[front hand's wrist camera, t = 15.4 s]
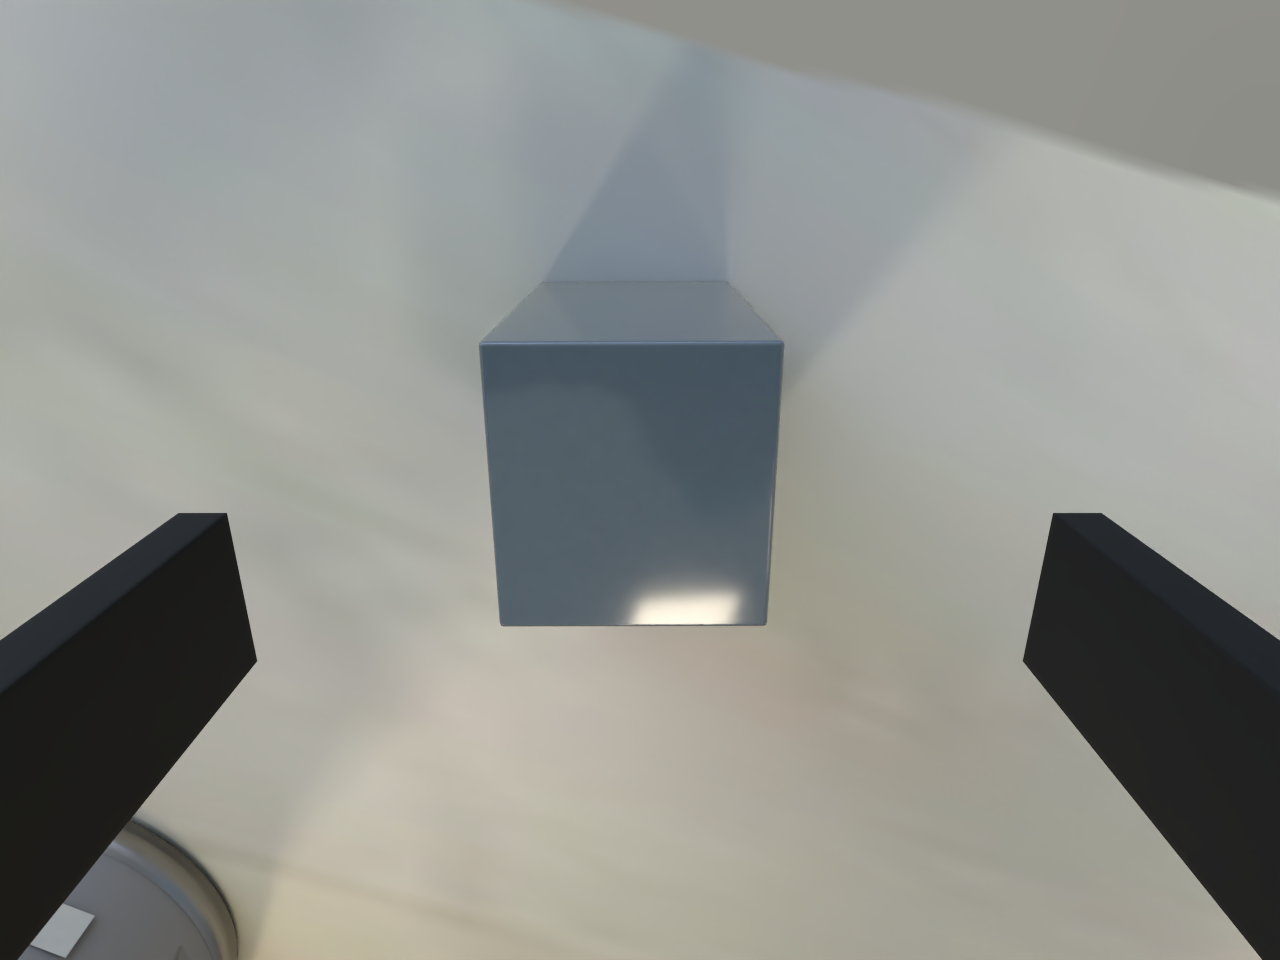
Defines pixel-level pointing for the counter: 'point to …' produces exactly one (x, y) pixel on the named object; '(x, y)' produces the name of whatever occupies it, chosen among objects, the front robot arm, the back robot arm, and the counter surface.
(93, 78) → the counter surface
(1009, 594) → the counter surface
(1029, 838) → the counter surface
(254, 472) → the counter surface
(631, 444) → the brick
